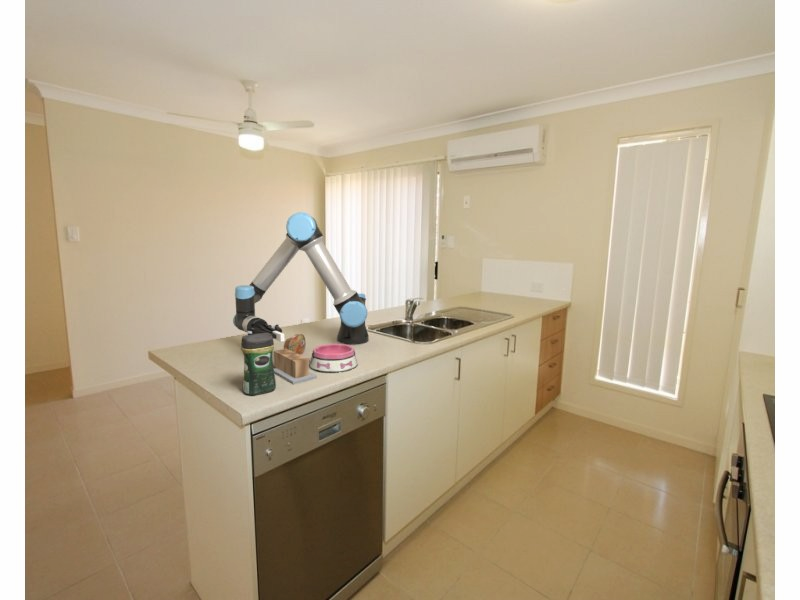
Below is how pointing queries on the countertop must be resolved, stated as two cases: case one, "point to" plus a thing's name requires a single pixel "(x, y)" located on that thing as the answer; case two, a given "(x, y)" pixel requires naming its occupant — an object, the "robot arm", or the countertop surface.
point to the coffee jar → (258, 363)
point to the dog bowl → (333, 358)
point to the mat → (292, 379)
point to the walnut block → (291, 363)
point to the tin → (296, 343)
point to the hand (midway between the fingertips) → (282, 337)
